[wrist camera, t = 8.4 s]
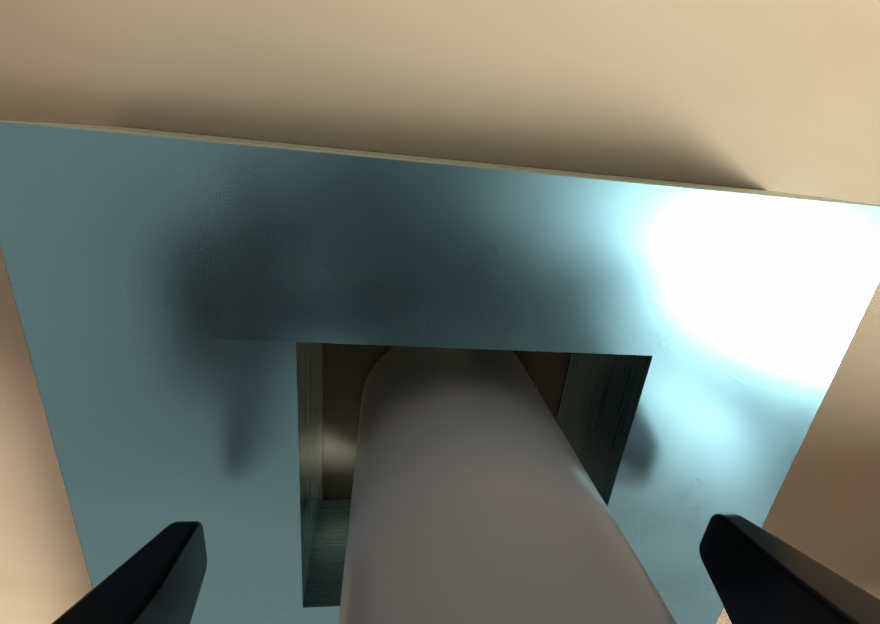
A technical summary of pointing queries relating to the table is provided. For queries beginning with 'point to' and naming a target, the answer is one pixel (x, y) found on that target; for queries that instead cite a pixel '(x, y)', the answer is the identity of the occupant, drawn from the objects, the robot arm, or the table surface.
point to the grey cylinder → (478, 505)
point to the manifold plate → (405, 335)
